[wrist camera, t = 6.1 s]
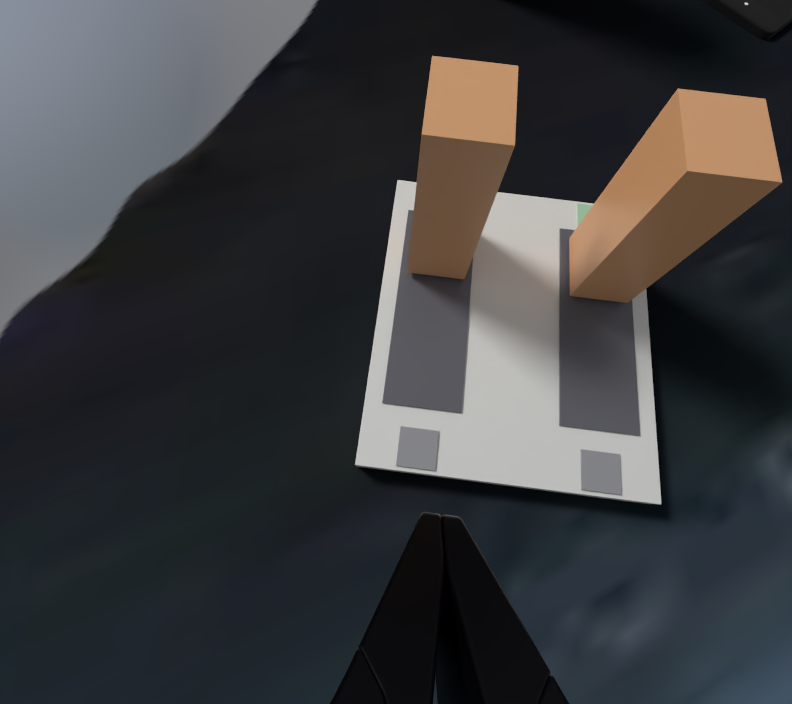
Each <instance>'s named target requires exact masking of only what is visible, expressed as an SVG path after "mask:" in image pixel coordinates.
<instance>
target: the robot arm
mask: <svg viewBox="0 0 792 704" xmlns="http://www.w3.org/2000/svg"><path fill="white" fill-rule="evenodd" d="M435 673H436V686H437V699H438V704H569V703H568V701H567V699H566V698H565V696H564V694H563V693H562V691H561V689H560V687H559V686H558V684H557V682H556V680H555V679H554V677H553V676H549V675H550V670H549V669H548V667H547V665H546V663H545V662H544V660H543V658H542V657H541V655H540V653H539V651H538V650H537V648H536V646H535V645H534V643H533V641H532V639H531V638H530V636H529V634H528V632H527V631H526V629H525V627H524V626H523V624H522V622H521V620H520V619H519V617H518V615H517V614H516V612H515V610H514V608H513V607H512V605H511V603H510V601H509V600H508V598H507V596H506V595H505V593H504V591H503V589H502V588H501V586H500V584H499V583H498V581H497V579H496V577H495V576H494V574H493V572H492V570H491V569H490V567H489V565H488V564H487V562H486V560H485V558H484V557H483V555H482V553H481V552H480V550H479V548H478V546H477V545H476V543H475V541H474V539H473V538H472V536H471V534H470V533H469V531H468V529H467V527H466V526H465V524H464V522H463V521H462V519H461V518H460V517H458V516H451V515H442V516H440V515H439V514H436V513H428V512H423V513H422V514H421V515H420V518H419V520H418V522H417V524H416V526H415V528H414V530H413V532H412V535H411V537H410V539H409V541H408V543H407V545H406V547H405V549H404V552H403V554H402V556H401V558H400V560H399V562H398V564H397V566H396V569H395V571H394V573H393V575H392V577H391V579H390V581H389V583H388V586H387V588H386V590H385V592H384V594H383V596H382V598H381V600H380V603H379V605H378V607H377V609H376V611H375V613H374V615H373V617H372V620H371V622H370V624H369V626H368V628H367V630H366V632H365V634H364V637H363V639H362V641H361V643H360V645H359V649H358V650H357V651H356V653H355V655H354V657H353V659H352V662H351V664H350V666H349V668H348V670H347V672H346V674H345V676H344V678H343V680H342V682H341V684H340V686H339V688H338V690H337V692H336V693H335V695H334V697H333V699H332V701H331V703H330V704H433V694H434V683H435Z"/></svg>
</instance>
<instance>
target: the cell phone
mask: <svg viewBox="0 0 792 704" xmlns="http://www.w3.org/2000/svg"><path fill="white" fill-rule="evenodd" d="M704 1H705V2H706V3H708V4H709V5H711V6H712V7H714V8H715V9H717V10H718V11H720V12H721V13H723V14H724V15H725V16H727V17H728V18H730V19H731V20H733V21H734V22H736V23H737V24H739V25H740V26H742V27H743V28H745V29H746V30H747V31H749V32H750V33H752V34H753V35H755V36H757V37H758V38H760V39H763V40H768V39H770V38H772V37H773V36H774V35H775V34H777V33H778V32H779V31H781V30H782V29H783V28H785V27H786V26H787V25H789V24H790V23H791V22H792V0H704Z"/></svg>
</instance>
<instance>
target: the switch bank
mask: <svg viewBox="0 0 792 704" xmlns="http://www.w3.org/2000/svg"><path fill="white" fill-rule="evenodd" d="M416 184H417V182H409V181H401V180H398V181H397V187H396V194H395V201H394V208H393V214H392V221H391V228H390V234H389V241H388V248H387V255H386V261H385V268H384V275H383V281H382V288H381V295H380V302H379V308H378V315H377V322H376V328H375V335H374V342H373V348H372V355H371V362H370V369H369V375H368V382H367V389H366V395H365V402H364V409H363V416H362V422H361V429H360V436H359V442H358V449H357V456H356V463H355V465H356V466H357V467H365V468H372V469H380V470H388V471H396V472H403V473H411V474H419V475H427V476H434V477H442V478H450V479H457V480H465V481H473V482H481V483H488V484H496V485H504V486H512V487H519V488H527V489H535V490H543V491H550V492H558V493H566V494H573V495H581V496H589V497H597V498H604V499H612V500H620V501H628V502H635V503H643V504H661V490H660V476H659V462H658V448H657V434H656V420H655V405H654V391H653V377H652V363H651V349H650V335H649V321H648V306H647V292H646V289H645V290H644V291H642V292H641V293H640V294H639V295H637V296H636V297H635V298H633V299H632V300H631V301H630V302H628V303H623V302H615V301H607V300H599V299H591V298H583V297H575V296H570V263H569V238H570V236H571V235H572V234H573V232H574V231H575V229H576V228H577V227H578V225H579V224H580V223H581V221H582V220H583V218H584V217H585V216H586V214H587V213H588V212H589V210H590V209H591V207H592V206H593V205H594V204H591V203H583V202H575V201H567V200H558V199H550V198H542V197H533V196H525V195H517V194H509V193H500V192H497V194H496V197H495V199H494V202H493V205H492V207H491V210H490V213H489V215H488V218H487V221H486V223H485V226H484V229H483V231H482V234H481V237H480V239H479V242H478V245H477V247H476V250H475V252H474V255H473V258H472V260H471V263H470V266H469V268H468V271H467V274H466V276H465V279H456V278H448V277H440V276H432V275H424V274H416V273H408V272H407V269H408V259H409V250H410V241H411V231H412V222H413V212H414V203H415V194H416Z"/></svg>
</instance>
